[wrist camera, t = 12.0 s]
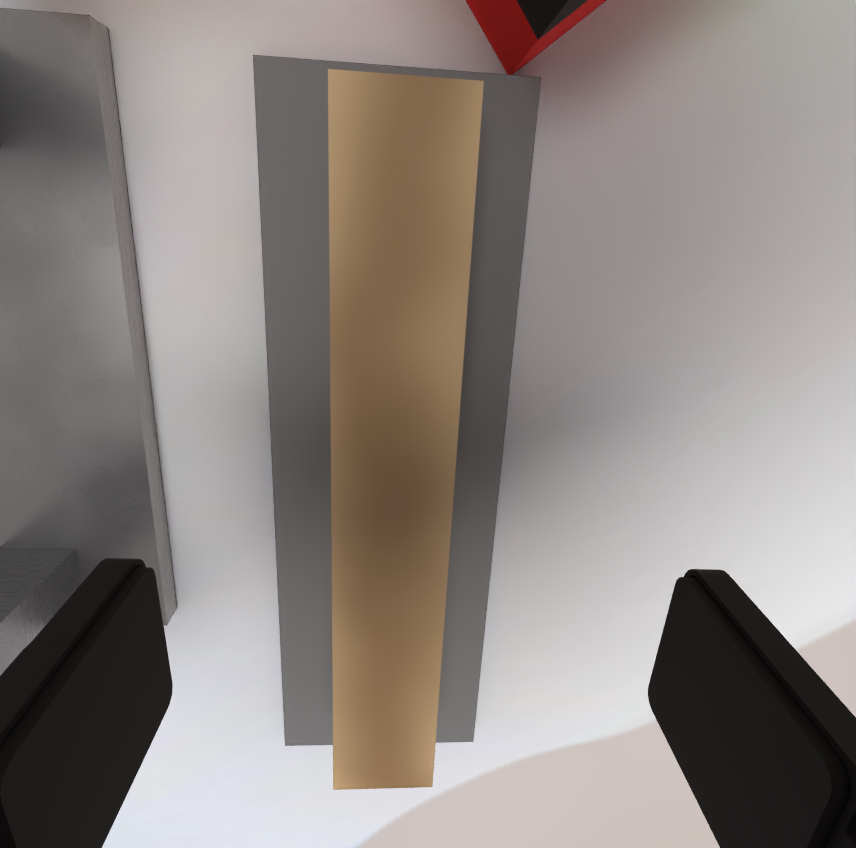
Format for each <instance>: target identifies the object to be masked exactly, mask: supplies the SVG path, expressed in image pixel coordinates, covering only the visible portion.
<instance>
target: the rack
mask: <svg viewBox="0 0 856 848" xmlns="http://www.w3.org/2000/svg"><path fill="white" fill-rule="evenodd" d="M106 558H129V559H141V560H143V562H144V563H145V566H146V567H151V568H153V569H154V571H155V575H156V581H157V587H158V594H159V600H160V607H161V613H162V620H163V625H167V624H168V623H169V621H170V619H171V617H172V616H173V614H174V612H175V610H176V608H177V605H176V596H175V588H174V579H173V571H172V563H171V554H170V546H169V537H168V529H167V520H166V512H165V504H164V495H163V487H162V478H161V470H160V462H159V453H158V445H157V436H156V428H155V420H154V411H153V403H152V394H151V386H150V377H149V369H148V361H147V352H146V344H145V335H144V327H143V319H142V310H141V302H140V293H139V285H138V277H137V268H136V260H135V251H134V243H133V234H132V226H131V218H130V209H129V201H128V192H127V184H126V176H125V167H124V159H123V150H122V142H121V134H120V125H119V117H118V108H117V100H116V92H115V83H114V75H113V66H112V58H111V49H110V41H109V33H108V29H107V28H106V27H105V26H103V25H102V24H101V23H99V22H98V21H96V20H95V19H94V18H92V17H91V16H90V15H80V14H68V13H56V12H43V11H31V10H19V9H7V8H0V676H1V674H2V673H3V672H4V671H5V670H6V669H7V668H8V666H9V665H10V664H11V663H12V662H13V661H14V659H15V658H16V657H17V656H18V655H19V654H20V652H21V651H22V650H23V649H24V648H25V647H26V646H27V645H28V644H30V643H31V642H32V640H33V639H34V638H35V637H36V636H37V635H38V633H39V632H40V631H41V630H42V629H43V628H44V627H45V625H46V624H47V623H48V622H49V621H50V620H51V618H52V617H53V616H54V615H55V614H56V613H57V611H58V610H59V609H60V608H61V607H62V606H63V604H64V603H65V602H66V601H67V600H68V599H69V598H70V596H71V595H72V594H73V593H74V592H75V591H76V589H77V588H78V587H79V586H80V585H81V584H82V582H83V581H84V580H85V579H86V578H87V577H88V575H89V574H90V573H91V572H92V571H93V570H94V569H95V567H96V566H97V565H98V564H99V563H100V562H101V561H102V560H103V559H106Z"/></svg>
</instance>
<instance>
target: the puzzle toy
mask: <svg viewBox="0 0 856 848" xmlns="http://www.w3.org/2000/svg"><path fill="white" fill-rule="evenodd" d="M605 1H606V0H466V2H467V4H468V5H469V7H470V9H471V11H472V12H473V14H474V16H475V18H476V20H477V21H478V23H479V25H480V27H481V28H482V30H483V32H484V34H485V35H486V37H487V39H488V41H489V42H490V44H491V46H492V48H493V49H494V51H495V53H496V55H497V57H498V58H499V60H500V62H501V64H502V65H503V67H504V69H505V71H506V72H507V74H508V75H513V74H514V73H515V72H517V71H518V70H519V69H520V68H522V67H523V66H524V65H525V64H527V63H528V62H529V61H530V60H532V59H533V58H534V57H535V56H537V55H538V54H539V53H541V52H542V51H543V50H544V49H546V48H547V47H548V46H549V45H551V44H552V43H553V42H554V41H556V40H557V39H558V38H559V37H561V36H562V35H563V34H565V33H566V32H567V31H568V30H570V29H571V28H572V27H573V26H575V25H576V24H577V23H578V22H580V21H581V20H582V19H583V18H585V17H586V16H587V15H589V14H590V13H591V12H592V11H594V10H595V9H596V8H597V7H599V6H600V5H601V4H602V3H604V2H605Z"/></svg>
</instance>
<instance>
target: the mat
mask: <svg viewBox="0 0 856 848" xmlns="http://www.w3.org/2000/svg"><path fill="white" fill-rule="evenodd" d="M253 63H254V85H255V107H256V128H257V150H258V171H259V193H260V214H261V236H262V258H263V279H264V301H265V322H266V344H267V365H268V387H269V409H270V430H271V452H272V473H273V495H274V516H275V538H276V560H277V581H278V603H279V624H280V646H281V667H282V689H283V711H284V732H285V746H294V745H333V667H332V535H331V404H330V272H329V140H328V69H335V70H348V71H361V72H374V73H387V74H400V75H413V76H426V77H439V78H452V79H465V80H478V81H484V86H483V100H482V114H481V127H480V141H479V155H478V168H477V182H476V196H475V209H474V223H473V237H472V250H471V264H470V278H469V291H468V305H467V319H466V332H465V346H464V360H463V373H462V387H461V401H460V414H459V428H458V442H457V455H456V469H455V483H454V497H453V510H452V524H451V538H450V551H449V565H448V579H447V592H446V606H445V620H444V633H443V647H442V661H441V674H440V688H439V702H438V715H437V729H436V742H473V738H474V728H475V719H476V709H477V699H478V689H479V679H480V670H481V660H482V650H483V640H484V630H485V620H486V611H487V601H488V591H489V581H490V571H491V562H492V552H493V542H494V532H495V522H496V512H497V503H498V493H499V483H500V473H501V463H502V454H503V444H504V434H505V424H506V414H507V404H508V395H509V385H510V375H511V365H512V355H513V346H514V336H515V326H516V316H517V306H518V296H519V287H520V277H521V267H522V257H523V247H524V238H525V228H526V218H527V208H528V198H529V188H530V179H531V169H532V159H533V149H534V139H535V130H536V120H537V110H538V100H539V90H540V80H541V77H531V76H518V75H505V74H492V73H479V72H466V71H454V70H441V69H428V68H415V67H402V66H389V65H376V64H363V63H350V62H337V61H324V60H311V59H299V58H286V57H273V56H260V55H253Z"/></svg>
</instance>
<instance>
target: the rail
mask: <svg viewBox="0 0 856 848" xmlns="http://www.w3.org/2000/svg"><path fill="white" fill-rule="evenodd" d="M483 86H484V81H478V80H465V79H452V78H439V77H426V76H413V75H400V74H387V73H374V72H361V71H348V70H335V69H328V140H329V272H330V404H331V535H332V667H333V790H339V789H376V788H413V787H432V784H433V770H434V756H435V743H436V729H437V715H438V702H439V688H440V674H441V661H442V647H443V633H444V620H445V606H446V592H447V579H448V565H449V551H450V538H451V524H452V510H453V497H454V483H455V469H456V455H457V442H458V428H459V414H460V401H461V387H462V373H463V360H464V346H465V332H466V319H467V305H468V291H469V278H470V264H471V250H472V237H473V223H474V209H475V196H476V182H477V168H478V155H479V141H480V127H481V114H482V100H483Z"/></svg>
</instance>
